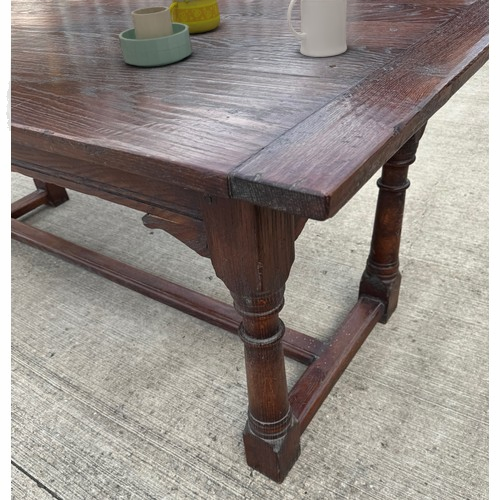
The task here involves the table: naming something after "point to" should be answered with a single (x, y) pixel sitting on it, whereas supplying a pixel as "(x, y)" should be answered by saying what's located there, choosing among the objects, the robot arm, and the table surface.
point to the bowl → (156, 47)
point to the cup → (152, 22)
